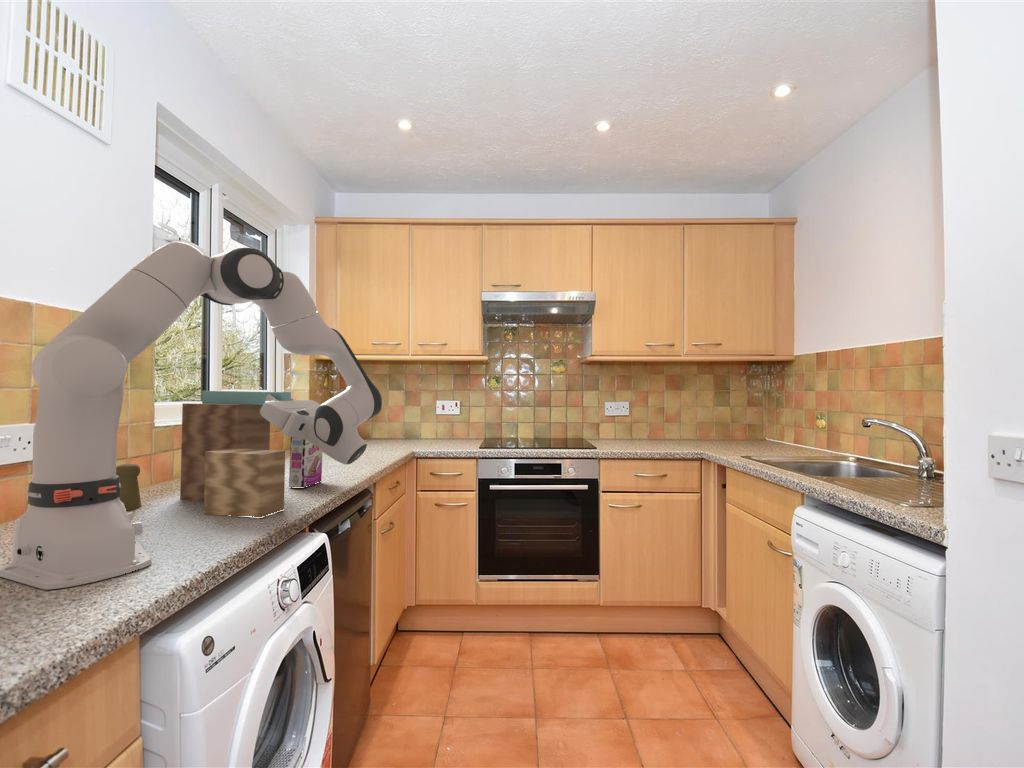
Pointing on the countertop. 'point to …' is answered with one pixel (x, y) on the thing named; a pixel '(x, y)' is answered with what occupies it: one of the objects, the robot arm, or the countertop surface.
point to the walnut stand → (216, 438)
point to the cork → (129, 485)
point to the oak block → (244, 482)
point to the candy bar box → (304, 463)
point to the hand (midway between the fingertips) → (274, 396)
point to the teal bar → (241, 397)
